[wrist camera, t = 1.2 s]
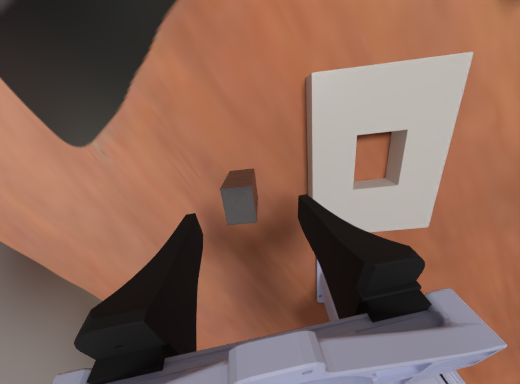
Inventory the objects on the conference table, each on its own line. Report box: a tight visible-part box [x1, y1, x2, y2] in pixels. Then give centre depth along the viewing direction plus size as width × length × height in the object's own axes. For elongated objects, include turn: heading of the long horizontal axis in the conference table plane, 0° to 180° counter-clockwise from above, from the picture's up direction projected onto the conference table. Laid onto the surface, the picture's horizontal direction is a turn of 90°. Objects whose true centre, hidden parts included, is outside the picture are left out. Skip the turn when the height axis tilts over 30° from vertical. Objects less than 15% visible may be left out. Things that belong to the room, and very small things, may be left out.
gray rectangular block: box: [220, 169, 258, 225], centre depth 22 cm, size 4×3×6 cm
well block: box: [306, 52, 474, 232], centre depth 22 cm, size 18×14×2 cm
